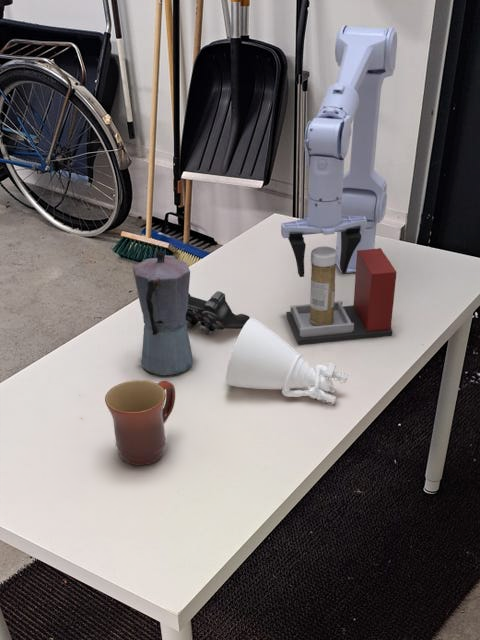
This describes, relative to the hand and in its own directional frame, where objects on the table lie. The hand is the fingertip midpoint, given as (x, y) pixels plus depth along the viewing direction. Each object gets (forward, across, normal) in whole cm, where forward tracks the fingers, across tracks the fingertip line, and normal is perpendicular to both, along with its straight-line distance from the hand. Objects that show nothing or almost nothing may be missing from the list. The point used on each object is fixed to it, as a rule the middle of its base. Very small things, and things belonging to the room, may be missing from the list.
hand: (322, 272), depth 151 cm
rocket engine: (+10, -11, -22) cm, 27 cm away
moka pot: (+10, -29, -9) cm, 32 cm away
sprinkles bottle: (+9, 0, -1) cm, 9 cm away
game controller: (+10, -21, +4) cm, 24 cm away
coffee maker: (+10, +3, -1) cm, 11 cm away
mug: (+10, -34, -33) cm, 49 cm away
